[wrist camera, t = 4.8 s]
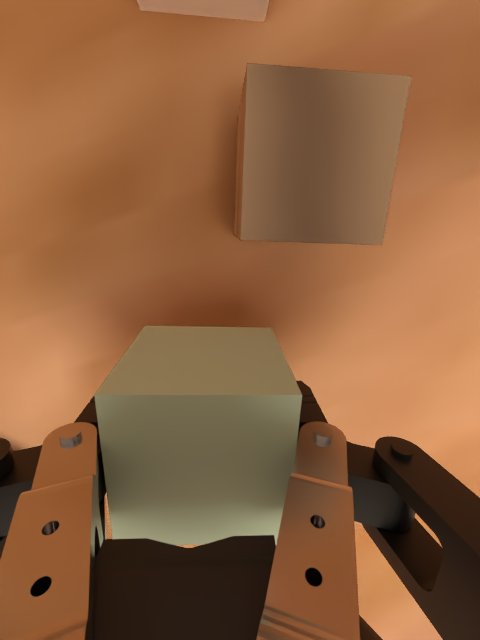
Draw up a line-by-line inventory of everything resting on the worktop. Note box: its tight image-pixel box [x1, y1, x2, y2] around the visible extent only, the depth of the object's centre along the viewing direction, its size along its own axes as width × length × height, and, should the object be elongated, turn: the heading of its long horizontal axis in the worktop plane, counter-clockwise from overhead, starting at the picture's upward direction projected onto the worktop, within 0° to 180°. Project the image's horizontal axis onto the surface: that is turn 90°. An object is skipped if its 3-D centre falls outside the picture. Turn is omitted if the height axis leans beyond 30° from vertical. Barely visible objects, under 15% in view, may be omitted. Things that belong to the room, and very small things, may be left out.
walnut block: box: [234, 63, 411, 245], centre depth 12 cm, size 5×5×5 cm
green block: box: [94, 326, 302, 545], centre depth 11 cm, size 5×5×5 cm
